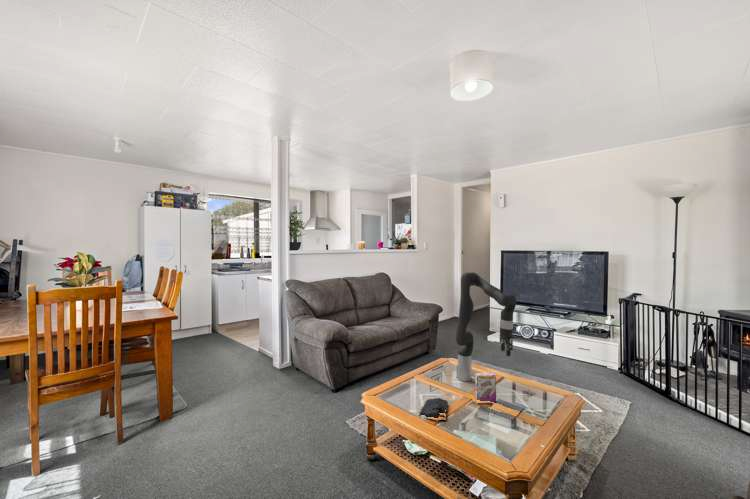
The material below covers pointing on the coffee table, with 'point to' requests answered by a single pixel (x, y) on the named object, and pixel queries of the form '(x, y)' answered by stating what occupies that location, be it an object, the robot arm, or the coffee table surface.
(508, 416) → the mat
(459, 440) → the coffee table surface
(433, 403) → the dark slate chunk
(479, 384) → the candy bar box
